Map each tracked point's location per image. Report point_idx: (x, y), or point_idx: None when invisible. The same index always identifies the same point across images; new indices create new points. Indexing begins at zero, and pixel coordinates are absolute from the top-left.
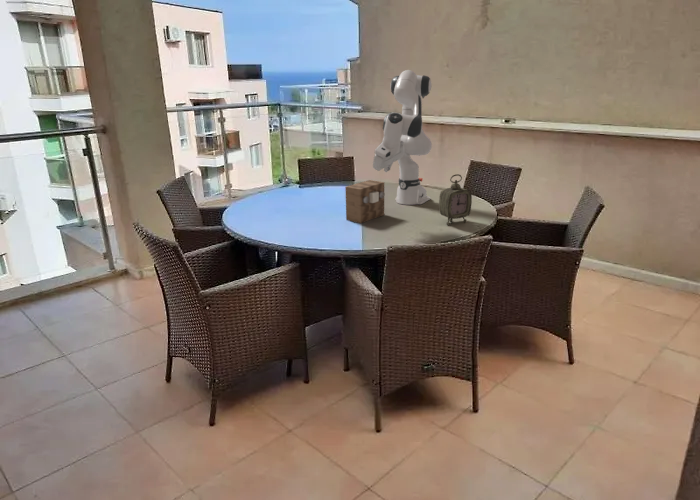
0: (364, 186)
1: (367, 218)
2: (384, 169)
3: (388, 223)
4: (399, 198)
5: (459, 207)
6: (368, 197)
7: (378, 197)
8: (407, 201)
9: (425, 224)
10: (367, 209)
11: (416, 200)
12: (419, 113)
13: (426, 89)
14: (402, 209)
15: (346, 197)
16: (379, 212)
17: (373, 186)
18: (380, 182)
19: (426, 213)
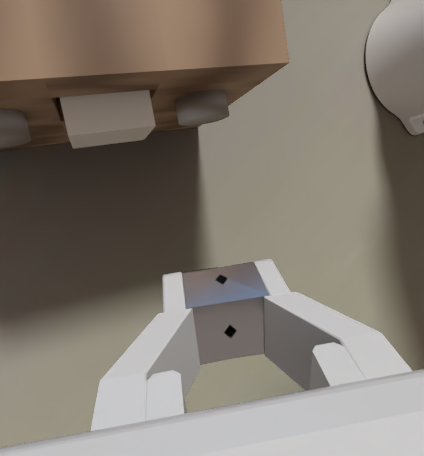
0: (7, 25)
1: (50, 142)
2: (164, 299)
3: (111, 256)
4: (389, 34)
5: None
6: (17, 137)
7: (146, 135)
8: (388, 86)
9: (228, 369)
10: (44, 131)
11: (416, 114)
12: None
13: None
14: (315, 127)
15: None
16: (163, 127)
17: (123, 76)
18: (260, 37)
19: (338, 248)
